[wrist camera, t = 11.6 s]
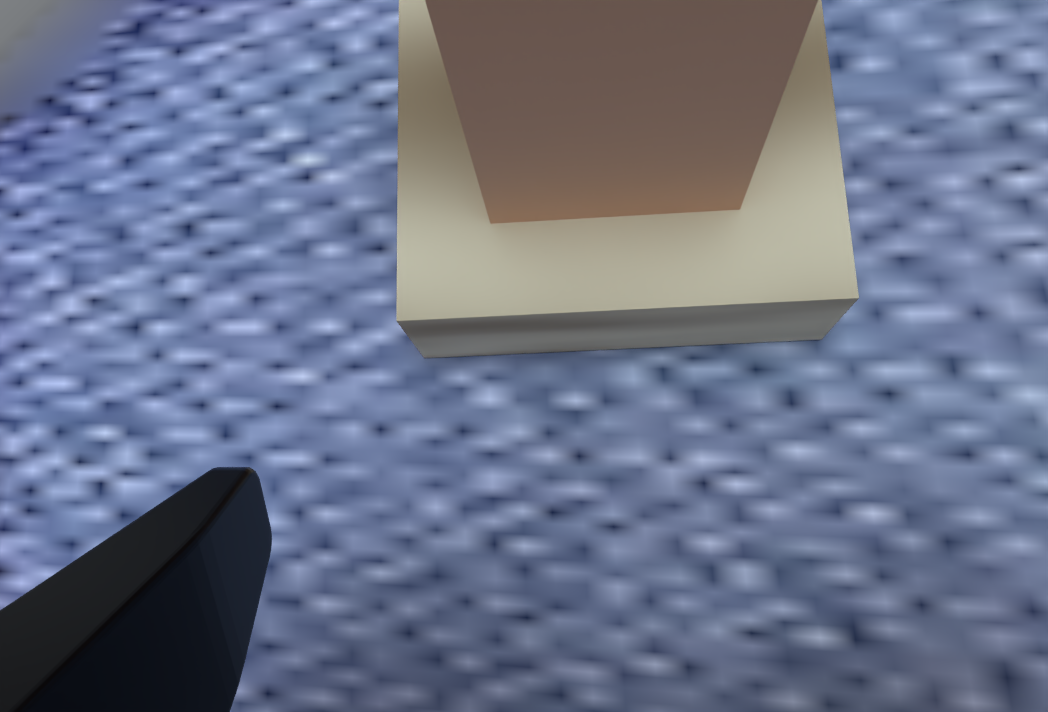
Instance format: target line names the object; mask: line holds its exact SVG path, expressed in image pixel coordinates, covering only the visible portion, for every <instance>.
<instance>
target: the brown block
mask: <svg viewBox="0 0 1048 712" xmlns="http://www.w3.org/2000/svg"><path fill="white" fill-rule="evenodd" d="M425 2H426V5H427V9H428V12H429V16H430V19H431V22H432V26H433V29H434V33H435V36H436V40H437V43H438V46H439V50H440V53H441V57H442V60H443V63H444V67H445V70H446V74H447V77H448V81H449V84H450V87H451V91H452V94H453V98H454V101H455V104H456V108H457V111H458V115H459V118H460V121H461V125H462V128H463V132H464V135H465V139H466V142H467V145H468V149H469V152H470V156H471V159H472V162H473V166H474V169H475V173H476V176H477V180H478V183H479V186H480V190H481V193H482V197H483V200H484V203H485V207H486V210H487V214H488V217H489V221H490V224H495V223H512V222H530V221H547V220H565V219H582V218H600V217H618V216H635V215H653V214H670V213H688V212H705V211H723V210H740V208H741V206H742V203H743V200H744V197H745V195H746V192H747V189H748V187H749V184H750V181H751V179H752V176H753V173H754V171H755V168H756V165H757V163H758V160H759V157H760V155H761V152H762V149H763V147H764V144H765V141H766V139H767V136H768V133H769V131H770V128H771V125H772V123H773V120H774V117H775V114H776V112H777V109H778V106H779V104H780V101H781V98H782V96H783V93H784V90H785V88H786V85H787V82H788V80H789V77H790V74H791V72H792V69H793V66H794V64H795V61H796V58H797V56H798V53H799V50H800V48H801V45H802V42H803V39H804V37H805V34H806V31H807V29H808V26H809V23H810V21H811V18H812V15H813V13H814V10H815V7H816V5H817V2H818V0H425Z"/></svg>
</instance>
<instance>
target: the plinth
mask: <svg viewBox="0 0 1048 712" xmlns="http://www.w3.org/2000/svg"><path fill="white" fill-rule="evenodd" d="M858 298H859V296H858V288H857V280H856V272H855V264H854V256H853V248H852V240H851V232H850V224H849V216H848V208H847V200H846V192H845V184H844V177H843V169H842V161H841V153H840V145H839V137H838V129H837V121H836V113H835V105H834V97H833V89H832V81H831V73H830V65H829V57H828V50H827V42H826V34H825V26H824V18H823V10H822V2H821V0H818V2H817V5H816V7H815V10H814V13H813V15H812V18H811V21H810V23H809V26H808V29H807V31H806V34H805V37H804V39H803V42H802V45H801V48H800V50H799V53H798V56H797V58H796V61H795V64H794V66H793V69H792V72H791V74H790V77H789V80H788V82H787V85H786V88H785V90H784V93H783V96H782V98H781V101H780V104H779V106H778V109H777V112H776V114H775V117H774V120H773V123H772V125H771V128H770V131H769V133H768V136H767V139H766V141H765V144H764V147H763V149H762V152H761V155H760V157H759V160H758V163H757V165H756V168H755V171H754V173H753V176H752V179H751V181H750V184H749V187H748V189H747V192H746V195H745V197H744V200H743V203H742V206H741V208H740V210H723V211H705V212H688V213H670V214H653V215H635V216H618V217H600V218H582V219H565V220H547V221H530V222H512V223H495V224H490V221H489V217H488V214H487V210H486V207H485V203H484V200H483V197H482V193H481V190H480V186H479V183H478V180H477V176H476V173H475V169H474V166H473V162H472V159H471V156H470V152H469V149H468V145H467V142H466V139H465V135H464V132H463V128H462V125H461V121H460V118H459V115H458V111H457V108H456V104H455V101H454V98H453V94H452V91H451V87H450V84H449V81H448V77H447V74H446V70H445V67H444V63H443V60H442V57H441V53H440V50H439V46H438V43H437V40H436V36H435V33H434V29H433V26H432V22H431V19H430V16H429V12H428V9H427V5H426V2H425V0H399V67H398V201H397V322H398V324H399V325H400V326H401V328H402V329H403V330H404V332H405V333H406V334H407V336H408V337H409V338H410V340H411V341H412V342H413V344H414V345H415V346H416V348H417V349H418V350H419V352H420V353H421V354H422V356H423V357H424V358H438V357H459V356H480V355H502V354H523V353H544V352H566V351H587V350H608V349H630V348H651V347H672V346H694V345H715V344H736V343H758V342H779V341H801V340H822V339H823V338H824V336H825V335H826V334H827V333H828V332H829V331H830V330H831V329H832V328H833V326H834V325H835V324H836V323H837V322H838V321H839V320H840V319H841V317H842V316H843V315H844V314H845V313H846V312H847V311H848V310H849V308H850V307H851V306H852V305H853V304H854V303H855V302H856V301H857V300H858Z"/></svg>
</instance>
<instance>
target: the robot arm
mask: <svg viewBox="0 0 1048 712" xmlns="http://www.w3.org/2000/svg"><path fill="white" fill-rule="evenodd" d="M271 545H272V534H271V527H270V522H269V518H268V514H267V509H266V505H265V501H264V496H263V492H262V487H261V483H260V479H259V477H258V475H257V473H256V471H254V470H253V469H251V468H250V467H217V468H213V469H211V470H210V471H208V472H206V473H205V474H203V475H202V476H200V477H199V478H197V479H196V480H194V481H193V482H191V483H190V484H188V485H187V486H186V487H184V488H183V489H181V490H180V491H178V492H177V493H175V494H174V495H172V496H171V497H169V498H168V499H166V500H165V501H163V502H162V503H160V504H159V505H157V506H156V507H154V508H153V509H151V510H150V511H148V512H147V513H145V514H144V515H142V516H141V517H139V518H138V519H136V520H135V521H133V522H132V523H130V524H129V525H127V526H126V527H124V528H123V529H121V530H120V531H118V532H117V533H115V534H114V535H112V536H111V537H109V538H108V539H106V540H105V541H103V542H102V543H100V544H99V545H97V546H96V547H94V548H93V549H91V550H90V551H88V552H87V553H86V554H84V555H83V556H81V557H80V558H78V559H77V560H75V561H74V562H72V563H71V564H69V565H68V566H66V567H65V568H63V569H62V570H60V571H59V572H57V573H56V574H54V575H53V576H51V577H50V578H48V579H47V580H45V581H44V582H42V583H41V584H39V585H38V586H36V587H35V588H33V589H32V590H30V591H29V592H27V593H26V594H24V595H23V596H21V597H20V598H18V599H17V600H15V601H14V602H12V603H11V604H9V605H8V606H6V607H5V608H3V609H2V610H0V712H230V709H231V706H232V703H233V700H234V697H235V694H236V691H237V688H238V685H239V682H240V678H241V674H242V670H243V666H244V663H245V658H246V654H247V650H248V646H249V642H250V637H251V633H252V629H253V625H254V621H255V616H256V612H257V608H258V604H259V599H260V595H261V591H262V587H263V583H264V578H265V574H266V570H267V566H268V562H269V557H270V553H271Z"/></svg>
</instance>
